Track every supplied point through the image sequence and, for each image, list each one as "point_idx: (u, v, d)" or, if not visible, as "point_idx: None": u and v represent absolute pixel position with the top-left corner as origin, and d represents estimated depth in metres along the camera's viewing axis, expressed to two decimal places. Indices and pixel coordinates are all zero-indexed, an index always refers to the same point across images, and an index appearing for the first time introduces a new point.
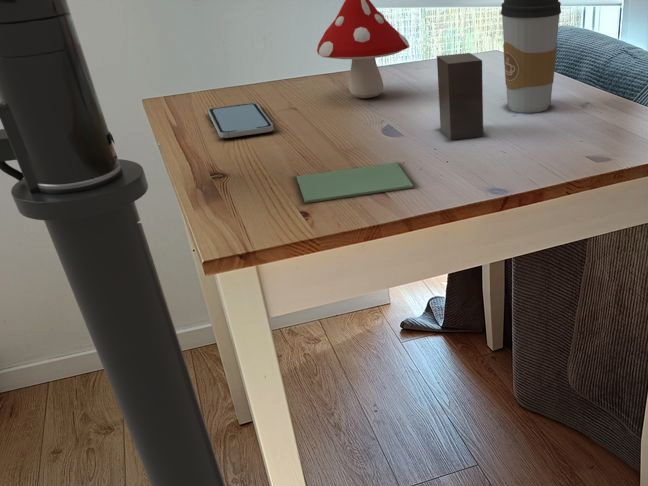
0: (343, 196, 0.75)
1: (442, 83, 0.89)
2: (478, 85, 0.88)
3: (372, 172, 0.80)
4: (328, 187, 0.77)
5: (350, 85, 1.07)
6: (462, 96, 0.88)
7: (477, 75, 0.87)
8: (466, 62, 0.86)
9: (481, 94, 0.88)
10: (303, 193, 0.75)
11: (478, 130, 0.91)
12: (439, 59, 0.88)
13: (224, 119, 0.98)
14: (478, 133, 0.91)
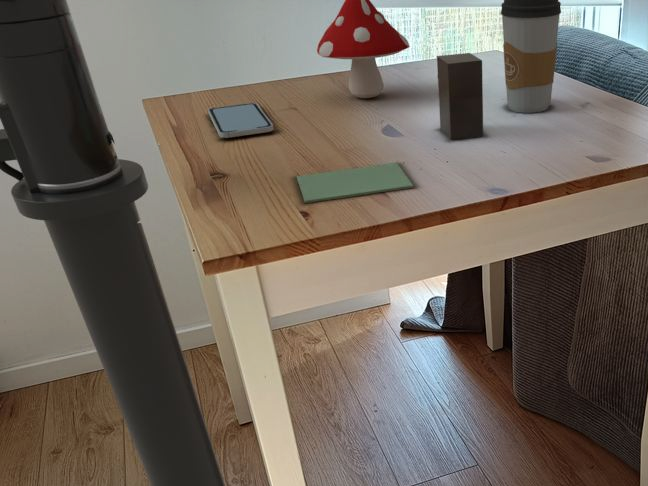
0: (343, 196, 0.75)
1: (442, 83, 0.89)
2: (478, 85, 0.88)
3: (372, 172, 0.80)
4: (328, 187, 0.77)
5: (350, 85, 1.07)
6: (462, 96, 0.88)
7: (477, 75, 0.87)
8: (466, 62, 0.86)
9: (481, 94, 0.88)
10: (303, 193, 0.75)
11: (478, 130, 0.91)
12: (439, 59, 0.88)
13: (224, 119, 0.98)
14: (478, 133, 0.91)
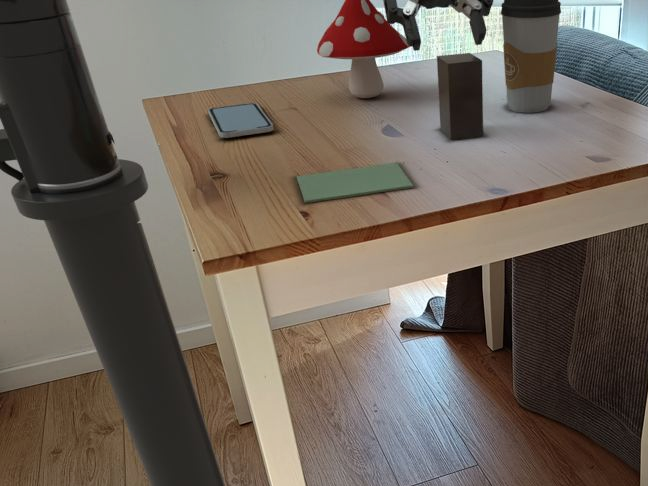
0: (343, 196, 0.75)
1: (442, 83, 0.89)
2: (478, 85, 0.88)
3: (372, 172, 0.80)
4: (328, 187, 0.77)
5: (350, 85, 1.07)
6: (462, 96, 0.88)
7: (477, 75, 0.87)
8: (466, 62, 0.86)
9: (481, 94, 0.88)
10: (303, 193, 0.75)
11: (478, 130, 0.91)
12: (439, 59, 0.88)
13: (224, 119, 0.98)
14: (478, 133, 0.91)
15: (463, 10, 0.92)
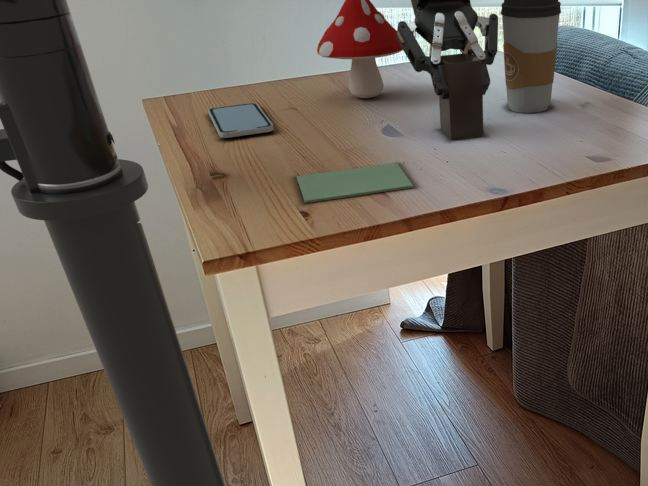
0: (343, 196, 0.75)
1: None
2: (478, 85, 0.88)
3: (372, 172, 0.80)
4: (328, 187, 0.77)
5: (350, 85, 1.07)
6: (462, 96, 0.88)
7: (477, 75, 0.87)
8: (466, 62, 0.86)
9: (481, 94, 0.88)
10: (303, 193, 0.75)
11: (478, 130, 0.91)
12: None
13: (224, 119, 0.98)
14: (478, 133, 0.91)
15: None
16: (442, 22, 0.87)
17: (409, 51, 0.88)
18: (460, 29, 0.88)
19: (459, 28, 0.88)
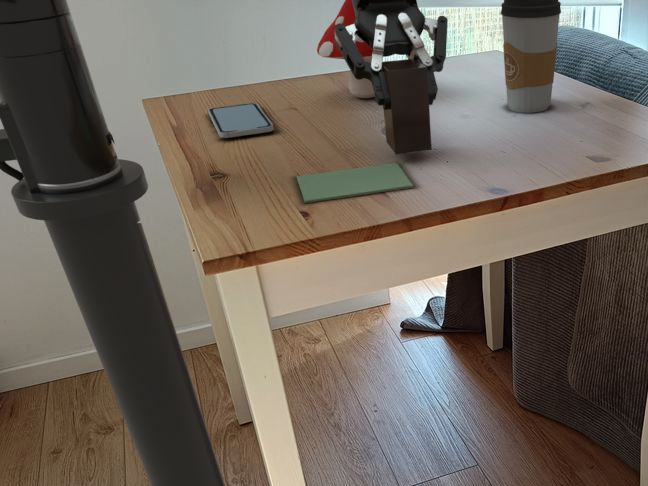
0: (343, 196, 0.75)
1: None
2: (424, 95, 0.79)
3: (372, 172, 0.80)
4: (328, 187, 0.77)
5: (350, 85, 1.07)
6: (406, 106, 0.80)
7: (422, 83, 0.79)
8: (409, 69, 0.77)
9: (427, 104, 0.80)
10: (303, 193, 0.75)
11: (426, 143, 0.83)
12: None
13: (224, 119, 0.98)
14: (426, 147, 0.83)
15: None
16: (384, 25, 0.79)
17: (348, 56, 0.80)
18: (404, 32, 0.80)
19: (403, 31, 0.80)
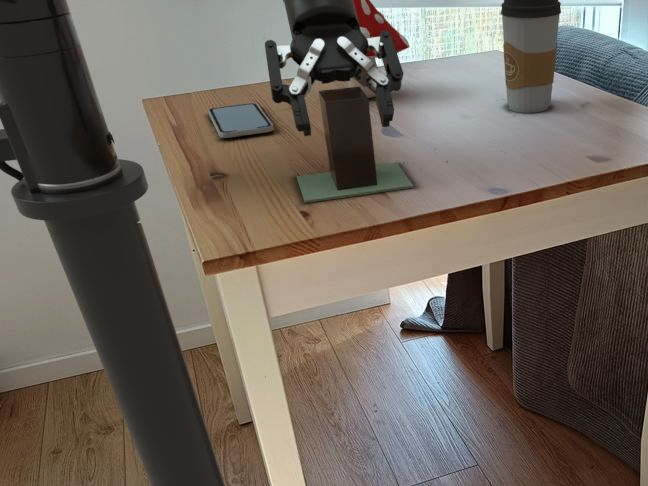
0: (343, 196, 0.75)
1: (325, 123, 0.74)
2: (366, 127, 0.73)
3: None
4: (328, 187, 0.77)
5: (350, 85, 1.07)
6: (347, 139, 0.73)
7: (363, 115, 0.72)
8: (348, 100, 0.71)
9: (370, 137, 0.74)
10: (303, 193, 0.75)
11: (371, 178, 0.76)
12: (320, 95, 0.74)
13: (224, 119, 0.98)
14: (371, 181, 0.76)
15: (368, 84, 0.76)
16: (321, 50, 0.73)
17: None
18: (349, 57, 0.74)
19: (348, 56, 0.74)
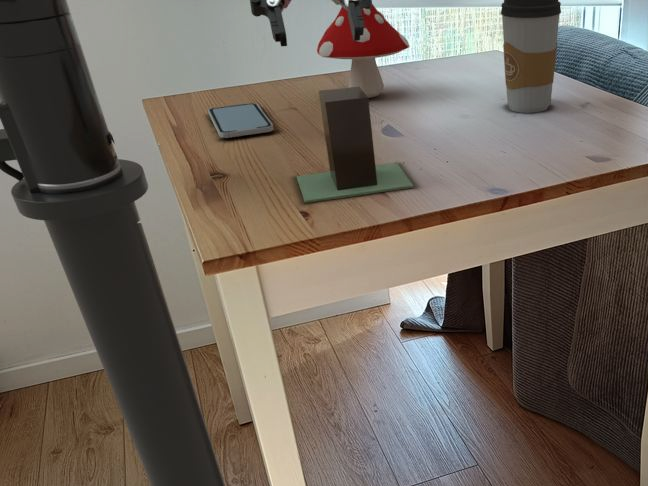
0: (343, 196, 0.75)
1: (325, 123, 0.74)
2: (366, 127, 0.73)
3: None
4: (328, 187, 0.77)
5: (350, 85, 1.07)
6: (347, 139, 0.73)
7: (363, 115, 0.72)
8: (348, 100, 0.71)
9: (370, 137, 0.74)
10: (303, 193, 0.75)
11: (371, 178, 0.76)
12: (320, 95, 0.74)
13: (224, 119, 0.98)
14: (371, 181, 0.76)
15: (341, 2, 0.83)
16: None
17: None
18: None
19: None
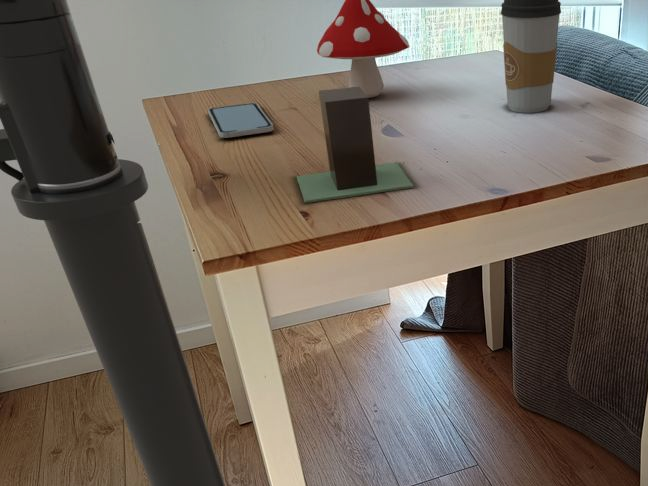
0: (343, 196, 0.75)
1: (325, 123, 0.74)
2: (366, 127, 0.73)
3: None
4: (328, 187, 0.77)
5: (350, 85, 1.07)
6: (347, 139, 0.73)
7: (363, 115, 0.72)
8: (348, 100, 0.71)
9: (370, 137, 0.74)
10: (303, 193, 0.75)
11: (371, 178, 0.76)
12: (320, 95, 0.74)
13: (224, 119, 0.98)
14: (371, 181, 0.76)
15: None
16: None
17: None
18: None
19: None
